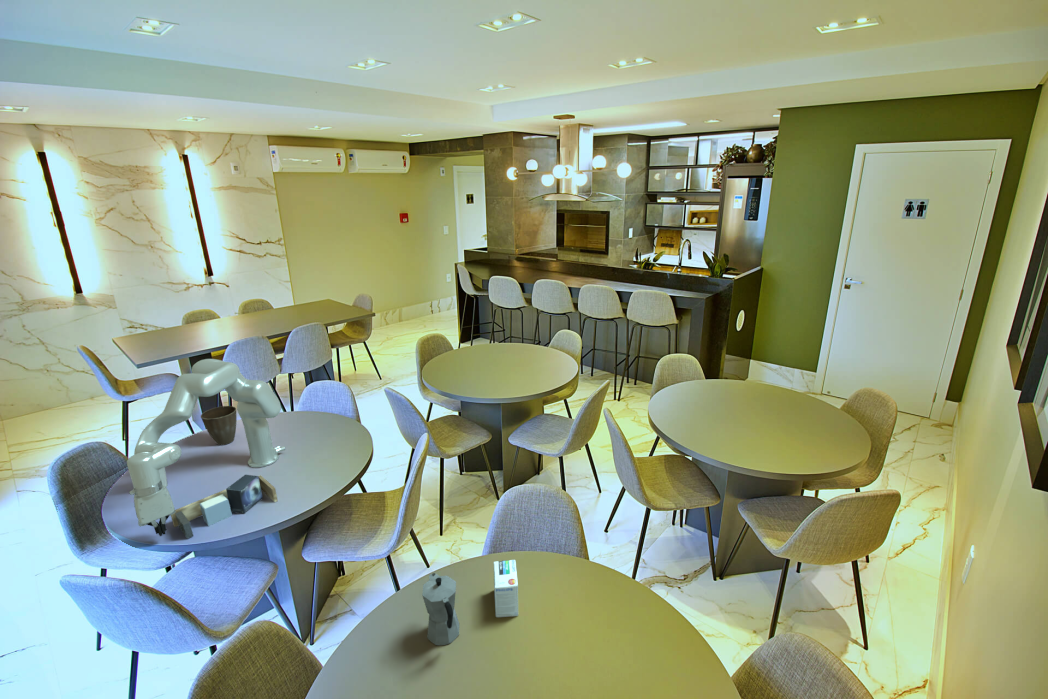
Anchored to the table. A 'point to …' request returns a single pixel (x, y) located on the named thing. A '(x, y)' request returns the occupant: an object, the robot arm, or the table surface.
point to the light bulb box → (506, 588)
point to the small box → (244, 494)
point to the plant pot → (221, 424)
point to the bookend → (184, 524)
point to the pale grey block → (215, 510)
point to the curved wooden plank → (194, 508)
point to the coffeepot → (441, 609)
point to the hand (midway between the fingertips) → (161, 533)
